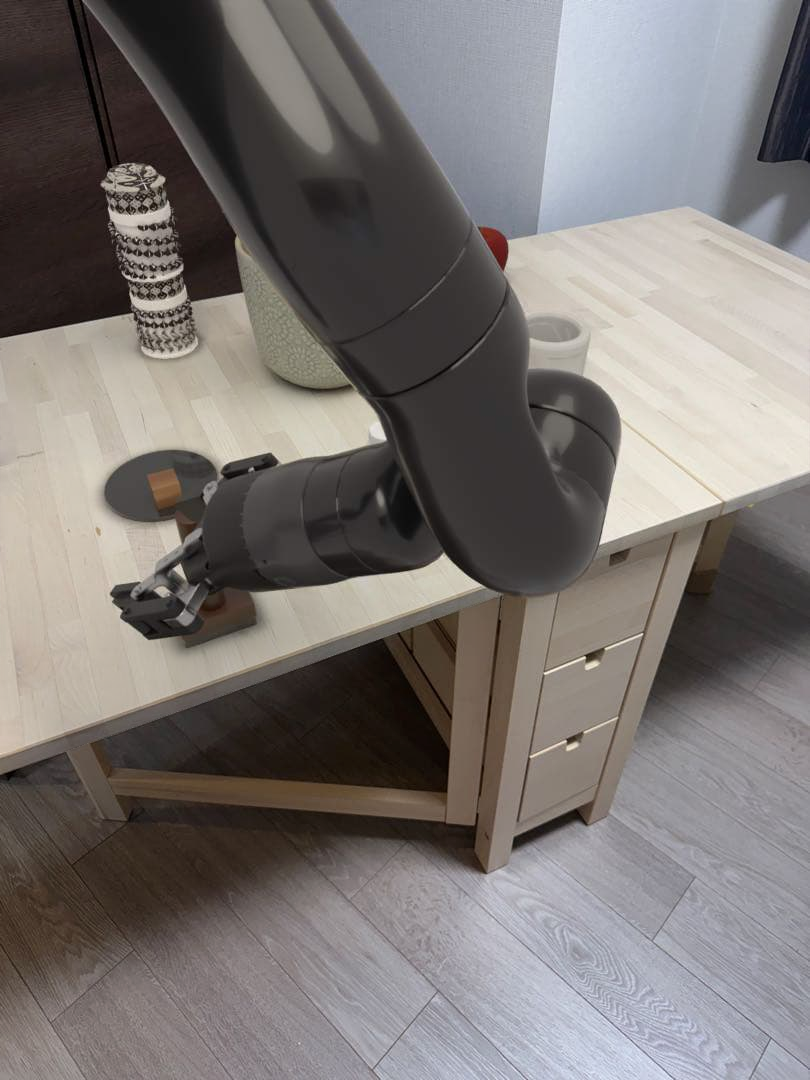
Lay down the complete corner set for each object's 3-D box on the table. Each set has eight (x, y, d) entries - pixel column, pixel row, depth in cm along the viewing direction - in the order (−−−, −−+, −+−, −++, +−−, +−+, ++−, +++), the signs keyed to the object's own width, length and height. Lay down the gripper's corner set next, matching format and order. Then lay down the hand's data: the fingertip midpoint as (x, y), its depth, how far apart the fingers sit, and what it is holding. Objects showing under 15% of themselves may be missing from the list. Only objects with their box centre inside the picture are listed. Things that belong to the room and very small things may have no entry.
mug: (557, 367, 109) (568, 303, 102) (592, 406, 102) (607, 339, 95) (471, 381, 106) (477, 316, 99) (501, 422, 99) (509, 354, 92)
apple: (512, 297, 126) (519, 237, 119) (458, 302, 125) (462, 242, 118) (494, 274, 133) (500, 216, 126) (443, 278, 131) (446, 220, 124)
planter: (424, 359, 110) (428, 229, 97) (338, 424, 98) (329, 285, 85) (315, 321, 119) (306, 197, 106) (223, 377, 106) (199, 243, 93)
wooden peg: (258, 624, 72) (238, 516, 63) (185, 649, 70) (152, 541, 61) (245, 595, 75) (224, 488, 66) (174, 619, 73) (141, 510, 63)
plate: (132, 537, 81) (131, 534, 81) (88, 478, 89) (87, 475, 88) (237, 492, 87) (237, 488, 87) (188, 440, 95) (187, 437, 94)
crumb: (184, 503, 85) (179, 482, 83) (158, 510, 84) (152, 490, 82) (178, 488, 87) (173, 467, 85) (152, 495, 86) (146, 474, 84)
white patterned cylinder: (206, 330, 116) (174, 157, 99) (194, 360, 109) (157, 180, 92) (147, 330, 116) (105, 157, 99) (132, 359, 109) (84, 179, 92)
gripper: (308, 401, 46) (168, 450, 57) (191, 580, 39) (54, 599, 49) (377, 483, 50) (234, 515, 61) (283, 660, 43) (138, 662, 53)
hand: (154, 552), depth 55 cm, fingers open, 8 cm apart
